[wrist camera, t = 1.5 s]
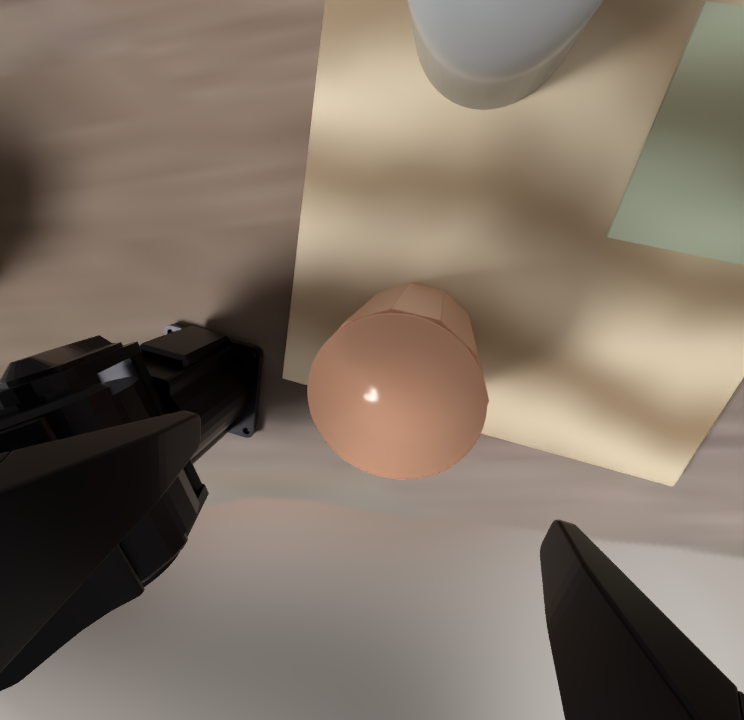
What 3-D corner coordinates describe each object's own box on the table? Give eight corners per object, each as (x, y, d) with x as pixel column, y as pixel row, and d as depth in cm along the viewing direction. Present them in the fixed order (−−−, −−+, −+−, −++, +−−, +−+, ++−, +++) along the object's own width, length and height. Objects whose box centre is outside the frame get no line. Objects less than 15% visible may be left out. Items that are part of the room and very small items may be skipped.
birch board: (662, 474, 20) (675, 489, 19) (289, 372, 22) (280, 379, 21) (995, -62, 12) (1051, -93, 11) (349, -125, 14) (340, -155, 13)
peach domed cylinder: (454, 412, 20) (456, 499, 14) (345, 383, 21) (297, 451, 14) (491, 301, 18) (514, 341, 11) (365, 271, 18) (320, 294, 12)
